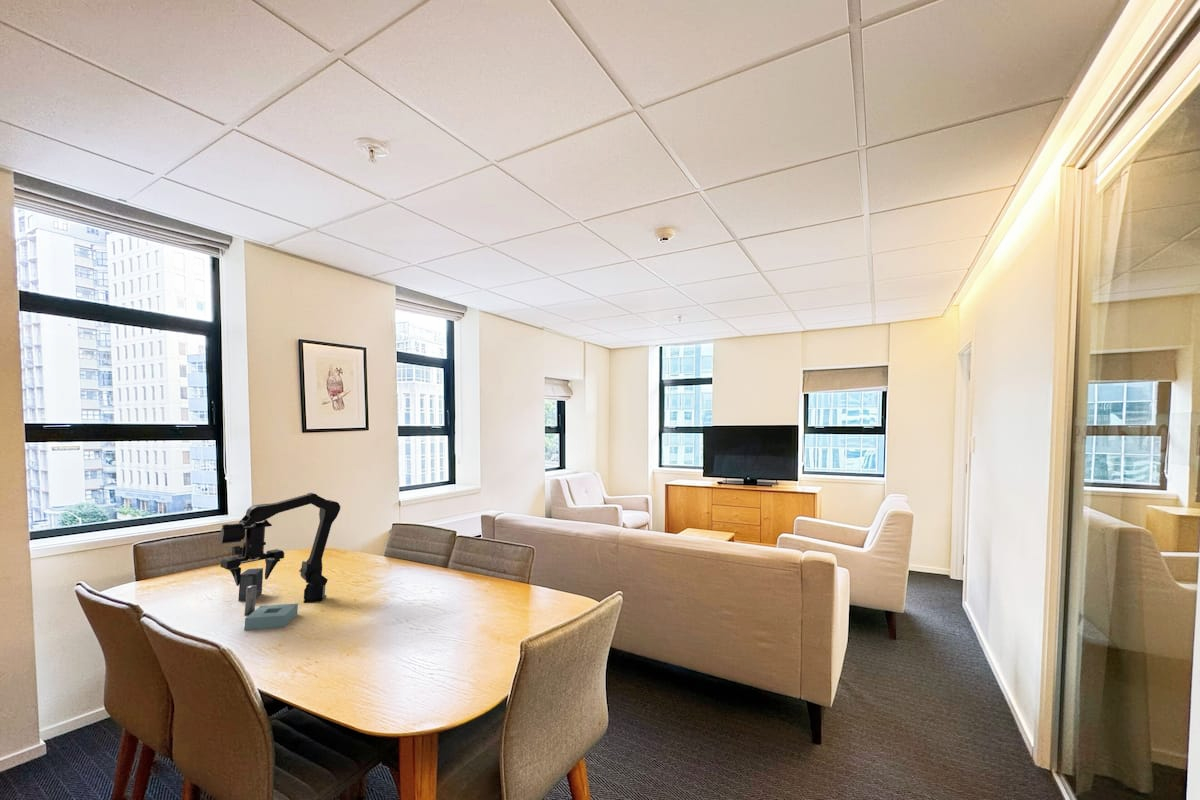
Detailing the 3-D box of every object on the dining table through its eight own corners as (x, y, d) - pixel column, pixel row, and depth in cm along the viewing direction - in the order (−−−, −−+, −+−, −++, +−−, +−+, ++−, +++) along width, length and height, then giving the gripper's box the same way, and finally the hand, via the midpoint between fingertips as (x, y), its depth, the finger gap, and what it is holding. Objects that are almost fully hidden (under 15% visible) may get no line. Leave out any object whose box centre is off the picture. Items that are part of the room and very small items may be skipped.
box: (246, 594, 194) (248, 568, 195) (262, 593, 195) (263, 567, 196) (237, 601, 186) (239, 574, 187) (254, 600, 188) (256, 573, 189)
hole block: (297, 614, 174) (298, 603, 174) (284, 627, 162) (285, 615, 163) (260, 617, 171) (261, 605, 171) (244, 630, 159) (245, 618, 160)
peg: (256, 612, 175) (258, 584, 176) (252, 615, 172) (254, 587, 173) (246, 612, 175) (248, 585, 175) (242, 615, 172) (245, 587, 172)
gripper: (271, 532, 188) (269, 572, 187) (215, 541, 172) (212, 585, 171) (286, 536, 182) (283, 577, 181) (229, 545, 166) (226, 590, 165)
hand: (252, 582), depth 174 cm, fingers open, 9 cm apart
